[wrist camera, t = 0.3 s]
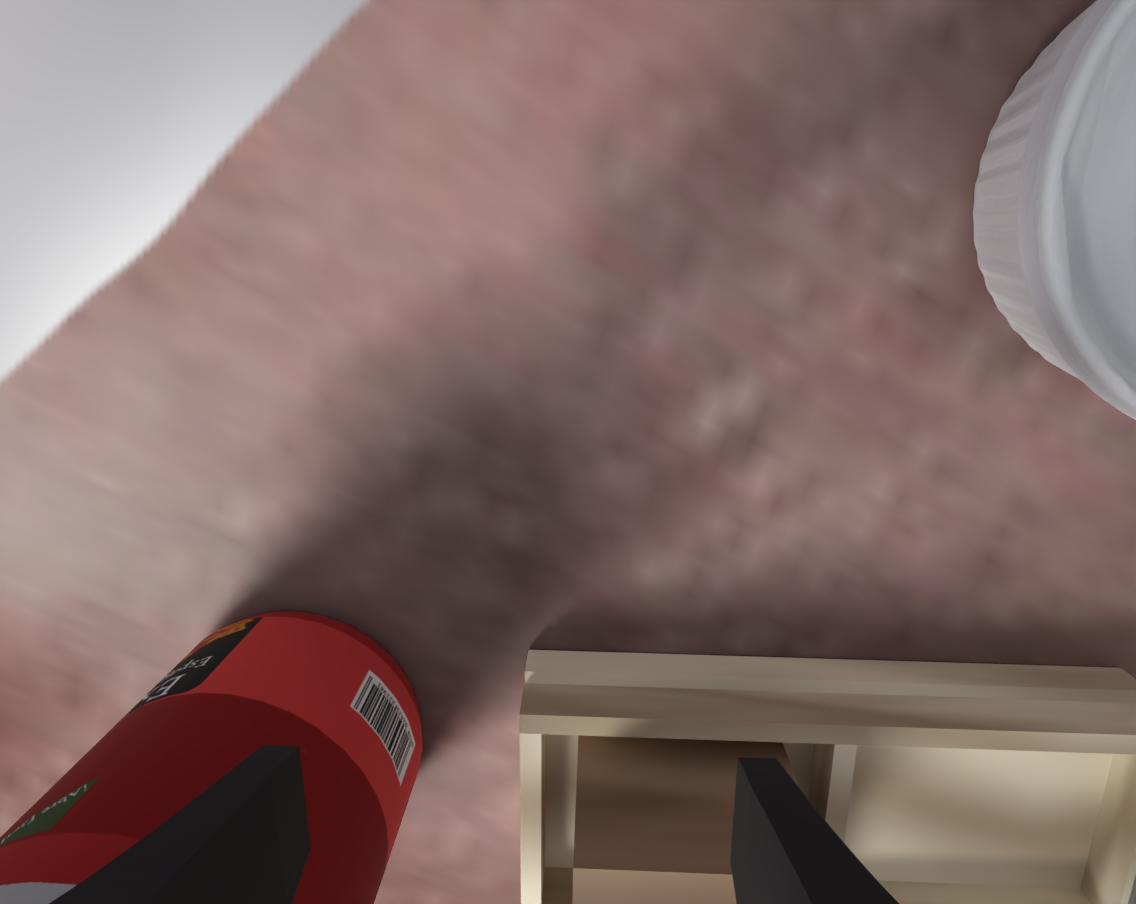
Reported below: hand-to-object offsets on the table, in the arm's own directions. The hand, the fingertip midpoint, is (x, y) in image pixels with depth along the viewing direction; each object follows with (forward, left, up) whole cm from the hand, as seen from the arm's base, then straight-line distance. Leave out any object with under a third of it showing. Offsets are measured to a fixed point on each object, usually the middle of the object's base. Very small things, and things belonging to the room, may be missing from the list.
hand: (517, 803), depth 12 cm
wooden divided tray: (-7, -8, -10) cm, 15 cm away
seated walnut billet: (-7, -4, -9) cm, 12 cm away
